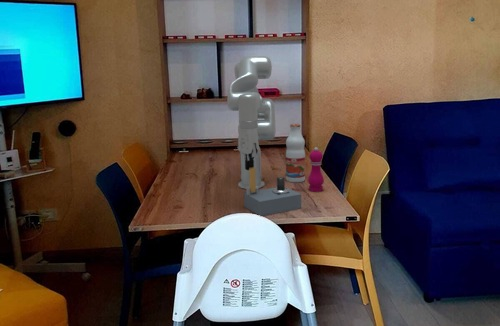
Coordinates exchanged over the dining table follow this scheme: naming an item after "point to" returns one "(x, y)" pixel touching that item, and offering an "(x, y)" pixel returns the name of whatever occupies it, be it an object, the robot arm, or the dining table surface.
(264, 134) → the robot arm
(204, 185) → the dining table surface
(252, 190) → the lever
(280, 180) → the pin
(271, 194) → the block
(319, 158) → the pepper mill
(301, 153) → the fruit juice
